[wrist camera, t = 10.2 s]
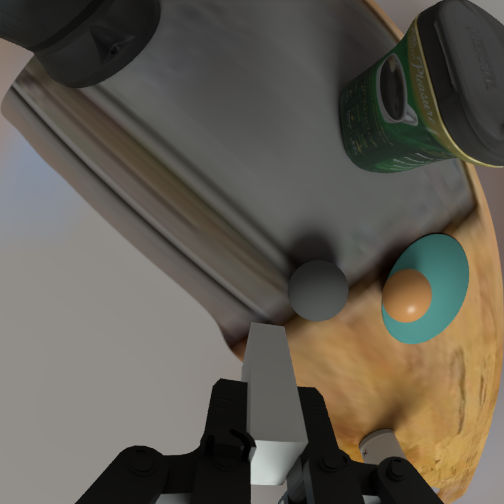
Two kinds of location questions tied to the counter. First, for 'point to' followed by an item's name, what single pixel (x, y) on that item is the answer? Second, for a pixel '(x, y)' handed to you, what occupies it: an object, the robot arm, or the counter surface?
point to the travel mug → (380, 446)
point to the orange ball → (407, 295)
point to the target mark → (433, 286)
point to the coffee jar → (431, 95)
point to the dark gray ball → (318, 290)
